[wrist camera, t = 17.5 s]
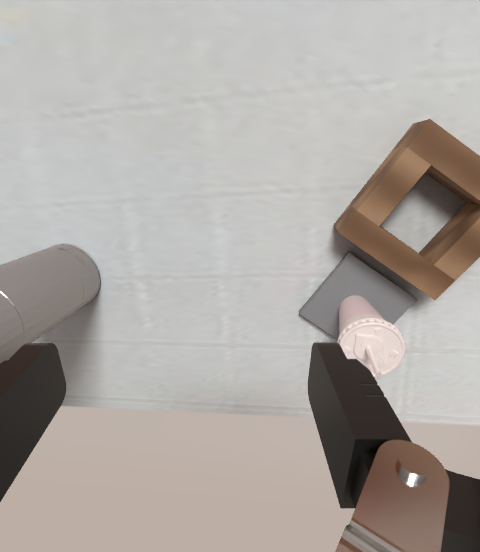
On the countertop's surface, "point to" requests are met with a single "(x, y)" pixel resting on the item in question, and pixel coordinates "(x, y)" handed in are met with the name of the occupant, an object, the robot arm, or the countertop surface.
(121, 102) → the countertop surface
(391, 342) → the smoothie
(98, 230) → the countertop surface
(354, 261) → the slate coaster
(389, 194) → the frame
